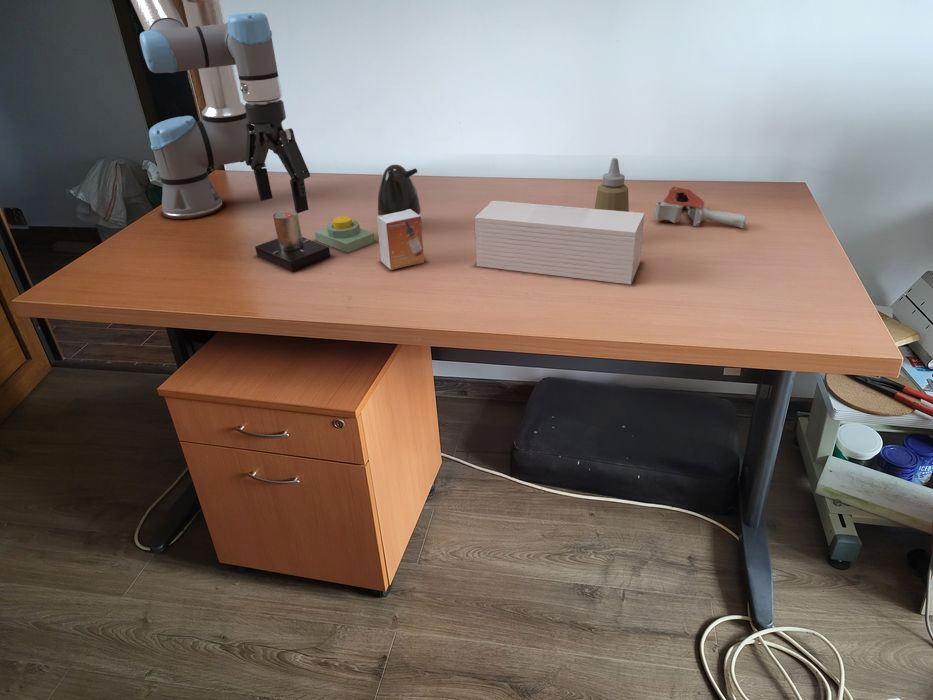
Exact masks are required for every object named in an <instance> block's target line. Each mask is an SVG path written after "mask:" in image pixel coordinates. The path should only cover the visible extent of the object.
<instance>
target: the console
mask: <svg viewBox="0 0 933 700" xmlns="http://www.w3.org/2000/svg"><path fill="white" fill-rule="evenodd" d="M302 239H303V247H302V248H300V249H297V250H293V251H283V250H281V249H280V247H279V243H278V238H275V239H272V240H269V241H266V242H263V243H261V244H258V245H255V246H254V249H255V253H256V257H257V258H260V259H262V260H263V261H266V262H268V263H270V264H272V265H275V266H278V267H280V268H282V269H284V270H287V271H289V272H291V273H295V272H297V271H300V270H303V269H305V268H308V267H310V266H312V265H315V264H317V263H321V262H323V261H325V260H328V259H331V250H330V246H328V245H326V244H323V243H320V242H318V241H314V240H311V239H309V238H306V237H304V236H302Z"/></svg>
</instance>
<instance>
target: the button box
mask: <svg viewBox="0 0 933 700" xmlns="http://www.w3.org/2000/svg"><path fill="white" fill-rule="evenodd" d="M352 224H353V226H352V227H350V228H346V229H335V228H334V227H333V221H332V222H329V223H328V224H327V225H326V227H325V228H321V229H318V230H317V231H314V237H315V242H318V243H320V244H323V245H325V246H328V247H332V248H335V249H336V250H340V251H342V252H345V253H347V254H348V253H351V252H353V251H356V250H359V249H361V248H363V247H365V246H366V247H367V246H368V245H371V244H374V243H375V242H376V239H375V233H374V232H372V231H369V230H366V229H363V228H361V227H360V223H359V221H357V220H355V219H352Z"/></svg>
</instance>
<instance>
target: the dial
mask: <svg viewBox="0 0 933 700" xmlns="http://www.w3.org/2000/svg"><path fill="white" fill-rule="evenodd" d="M272 216H273V217H272V218H273V222H274V228H275V232H276V237H277V238H276V239H278V243H279V247H280V249H281V250H283V251H293V250H297V249H300V248H302V247H303V239H302V237H303V233H302V230H301V224H300V217H299V213H296V211H295V209H284V210H280V211H276V212H274V213H273V214H272Z"/></svg>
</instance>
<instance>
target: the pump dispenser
mask: <svg viewBox="0 0 933 700" xmlns="http://www.w3.org/2000/svg"><path fill="white" fill-rule="evenodd" d="M417 173H418V169H417V168H412V169H410V170H407V169H406V168H405V167H404V166H402V165H400V164H391V165H389V166H387V167H386V168H385V169H384V172H383V173H382V176H381V179H380V183H379V187H378V193H377V216H379V215H386V214H391V213H396V212H400V211H405V210H408V209H411V210H413V211H414V212H415V213H417V214H418V215H419V216H420V214H421V212H422V211H421V204H420V199H419V195H418V192H417V188H416V186H415V183H414V182H413V180H412V178H411V177H413V176H414V175H415V174H417Z"/></svg>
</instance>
